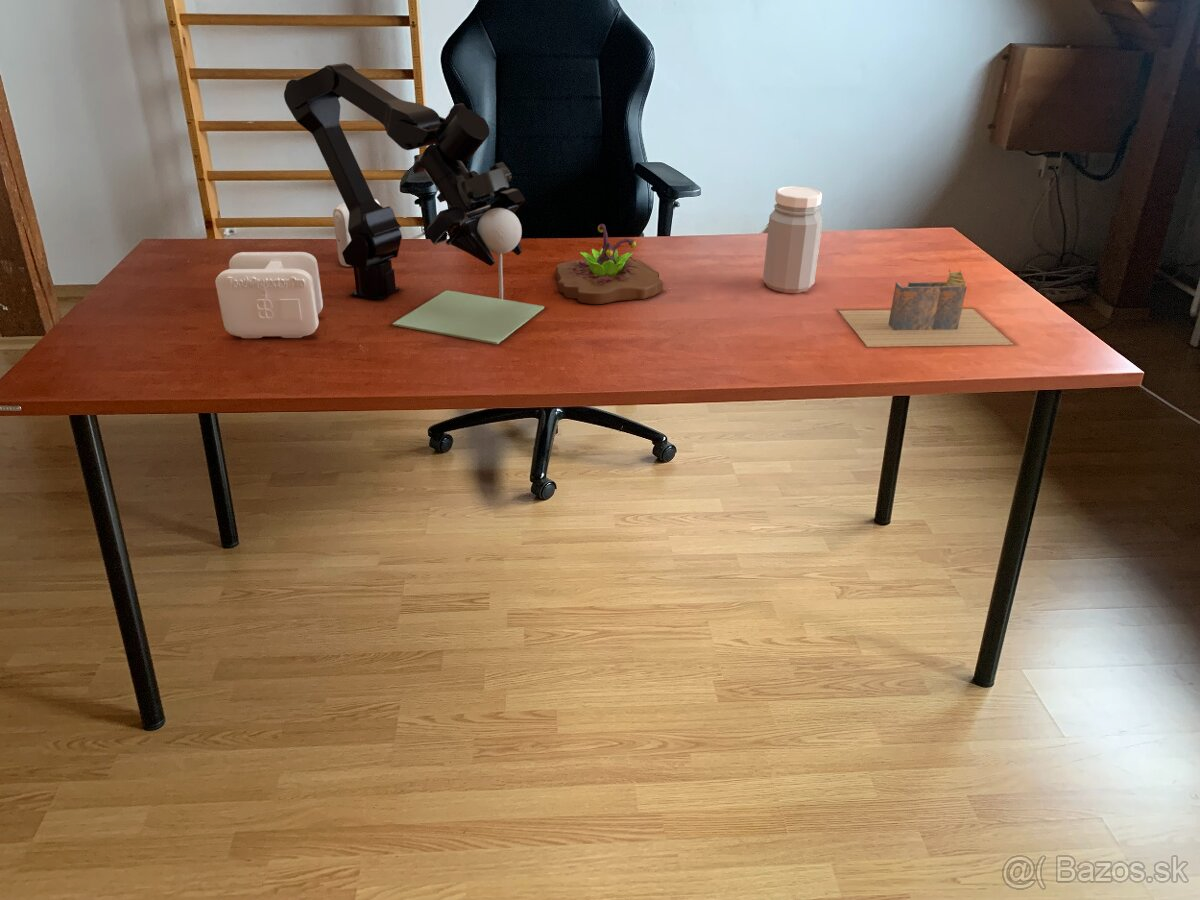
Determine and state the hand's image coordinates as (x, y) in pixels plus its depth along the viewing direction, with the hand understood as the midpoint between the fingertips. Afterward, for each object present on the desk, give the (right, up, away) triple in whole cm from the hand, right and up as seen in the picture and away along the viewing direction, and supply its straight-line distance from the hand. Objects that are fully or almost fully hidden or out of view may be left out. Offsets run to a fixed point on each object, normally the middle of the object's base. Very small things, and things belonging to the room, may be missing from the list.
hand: (506, 258), depth 151 cm
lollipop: (-1, -6, +4) cm, 7 cm away
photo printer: (-33, +7, +38) cm, 51 cm away
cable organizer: (-39, -11, +6) cm, 41 cm away
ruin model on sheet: (+71, -10, +11) cm, 73 cm away
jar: (+51, +1, +29) cm, 59 cm away
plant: (+16, +1, +28) cm, 32 cm away
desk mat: (-8, -8, +12) cm, 16 cm away
